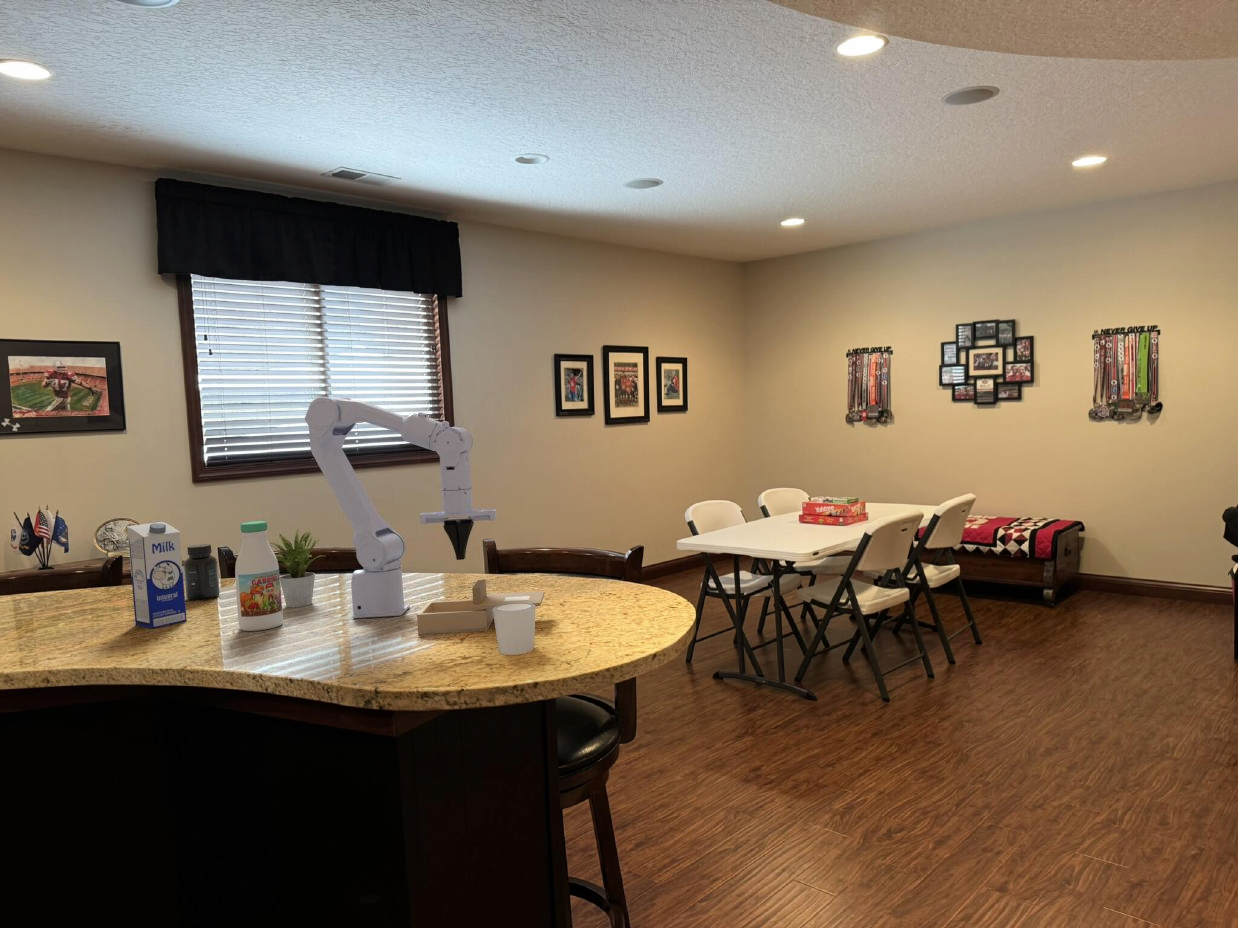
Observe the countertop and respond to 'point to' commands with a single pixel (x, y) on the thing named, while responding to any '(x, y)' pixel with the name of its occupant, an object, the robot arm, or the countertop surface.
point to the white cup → (515, 627)
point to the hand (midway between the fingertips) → (461, 558)
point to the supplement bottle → (201, 573)
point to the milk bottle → (257, 580)
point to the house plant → (297, 570)
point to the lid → (502, 597)
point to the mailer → (452, 618)
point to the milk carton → (156, 575)
